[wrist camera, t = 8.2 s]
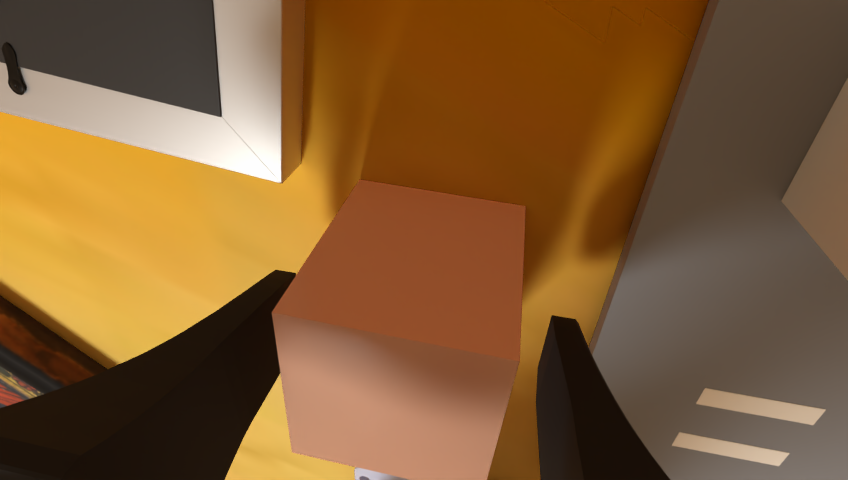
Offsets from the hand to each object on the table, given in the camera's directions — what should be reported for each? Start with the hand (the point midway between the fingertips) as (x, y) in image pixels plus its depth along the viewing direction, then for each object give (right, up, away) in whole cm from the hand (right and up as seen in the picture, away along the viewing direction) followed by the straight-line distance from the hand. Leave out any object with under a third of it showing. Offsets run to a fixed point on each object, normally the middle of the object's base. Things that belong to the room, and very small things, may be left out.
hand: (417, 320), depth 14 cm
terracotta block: (0, +2, +2) cm, 3 cm away
